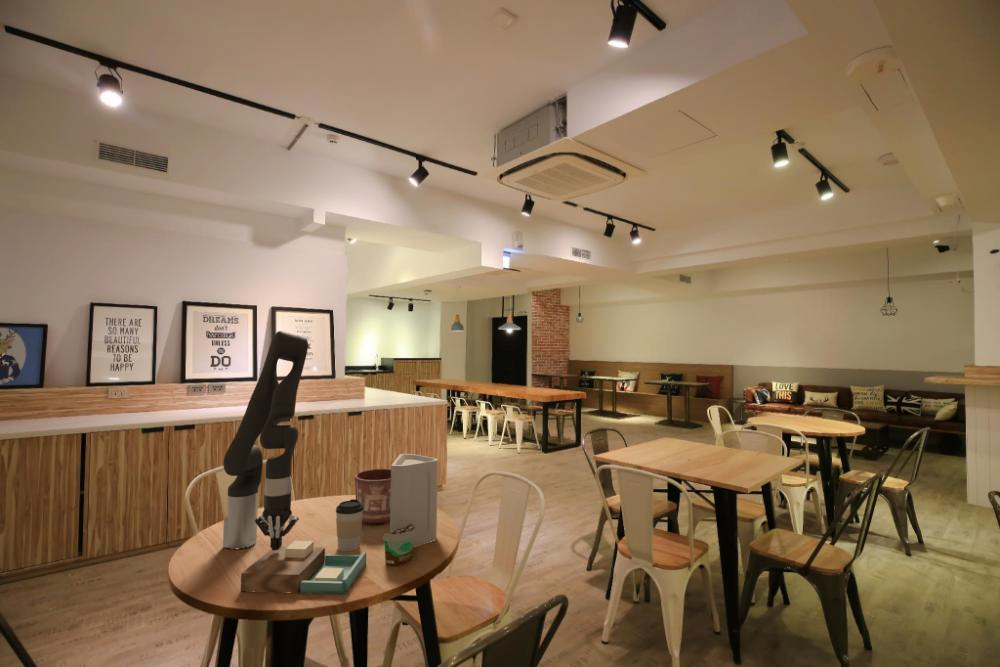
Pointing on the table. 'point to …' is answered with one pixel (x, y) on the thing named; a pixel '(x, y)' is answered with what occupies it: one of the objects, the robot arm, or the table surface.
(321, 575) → the tile
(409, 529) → the food container
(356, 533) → the coffee cup
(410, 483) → the white wifi router
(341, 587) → the tray
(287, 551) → the tile
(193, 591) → the table surface
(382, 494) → the pottery
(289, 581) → the walnut board
